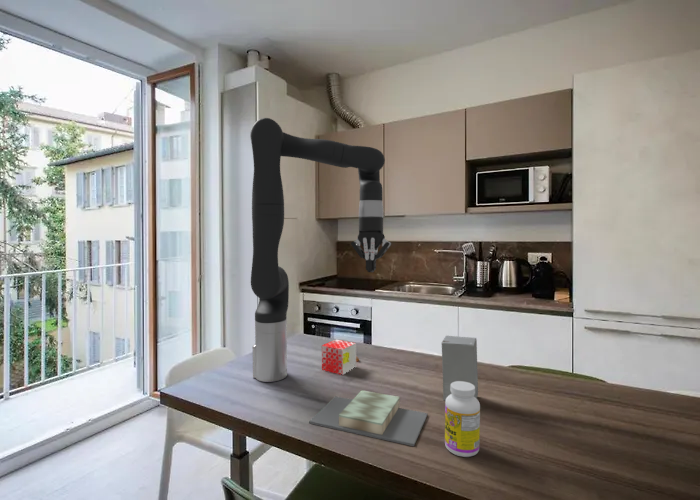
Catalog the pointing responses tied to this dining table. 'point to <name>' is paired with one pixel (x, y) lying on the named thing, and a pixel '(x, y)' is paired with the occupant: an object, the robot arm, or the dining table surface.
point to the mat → (398, 430)
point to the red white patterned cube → (338, 356)
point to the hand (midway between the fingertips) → (370, 272)
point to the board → (370, 412)
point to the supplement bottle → (462, 420)
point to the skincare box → (459, 362)
